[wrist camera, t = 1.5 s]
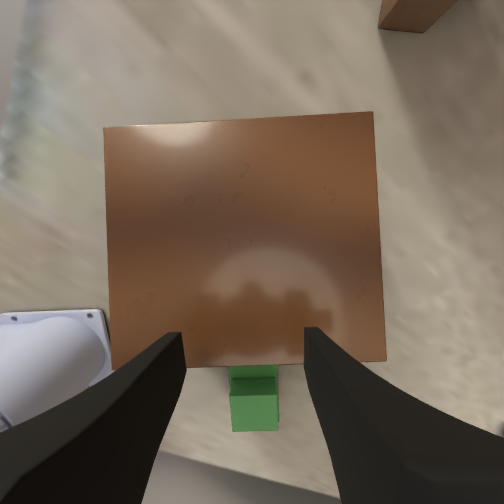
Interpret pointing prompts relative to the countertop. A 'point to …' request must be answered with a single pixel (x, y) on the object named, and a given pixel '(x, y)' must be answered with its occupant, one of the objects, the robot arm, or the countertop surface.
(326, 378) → the robot arm
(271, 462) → the countertop surface
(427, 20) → the wooden toy
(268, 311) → the lid
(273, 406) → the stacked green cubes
